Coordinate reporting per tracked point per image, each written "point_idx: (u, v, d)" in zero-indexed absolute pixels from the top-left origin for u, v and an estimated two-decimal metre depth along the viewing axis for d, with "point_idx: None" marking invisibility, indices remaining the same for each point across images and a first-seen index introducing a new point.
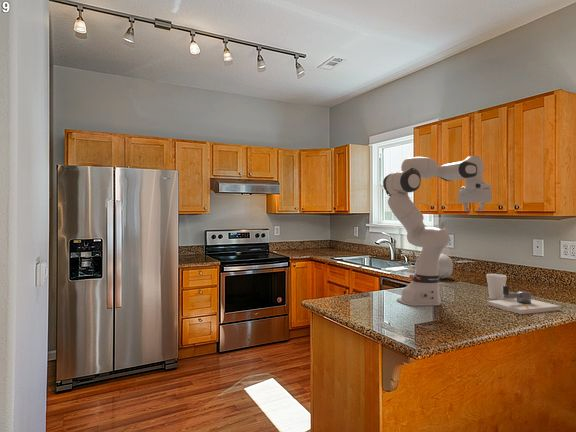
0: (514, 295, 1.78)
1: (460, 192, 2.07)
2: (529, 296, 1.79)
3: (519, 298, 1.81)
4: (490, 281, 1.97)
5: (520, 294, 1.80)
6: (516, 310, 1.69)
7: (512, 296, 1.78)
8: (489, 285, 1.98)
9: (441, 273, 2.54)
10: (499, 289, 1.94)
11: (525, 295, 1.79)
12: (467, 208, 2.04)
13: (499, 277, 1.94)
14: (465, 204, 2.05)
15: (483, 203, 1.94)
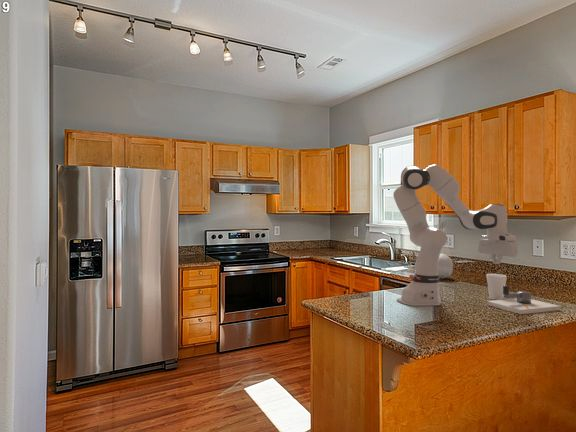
0: (514, 295, 1.78)
1: (481, 241, 1.90)
2: (529, 296, 1.79)
3: (519, 298, 1.81)
4: (490, 281, 1.97)
5: (520, 294, 1.80)
6: (516, 310, 1.69)
7: (512, 296, 1.78)
8: (489, 285, 1.98)
9: (441, 273, 2.54)
10: (499, 289, 1.94)
11: (525, 295, 1.79)
12: None
13: (499, 277, 1.94)
14: (493, 256, 1.84)
15: (500, 256, 1.81)
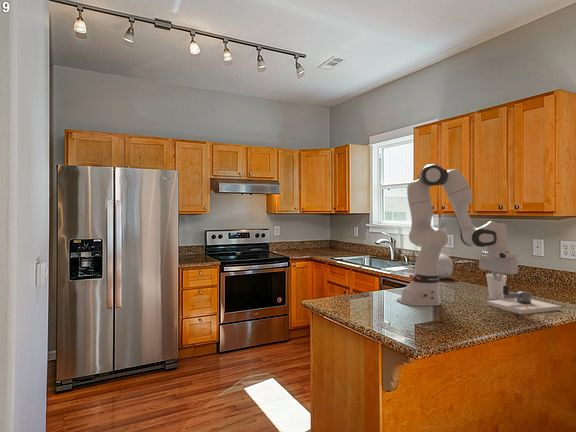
0: (514, 295, 1.78)
1: (481, 258, 1.90)
2: (529, 296, 1.79)
3: (519, 298, 1.81)
4: (490, 281, 1.97)
5: (520, 294, 1.80)
6: (516, 310, 1.69)
7: (512, 296, 1.78)
8: (489, 285, 1.98)
9: (441, 273, 2.54)
10: (499, 289, 1.94)
11: (525, 295, 1.79)
12: None
13: None
14: (494, 273, 1.84)
15: (501, 273, 1.81)
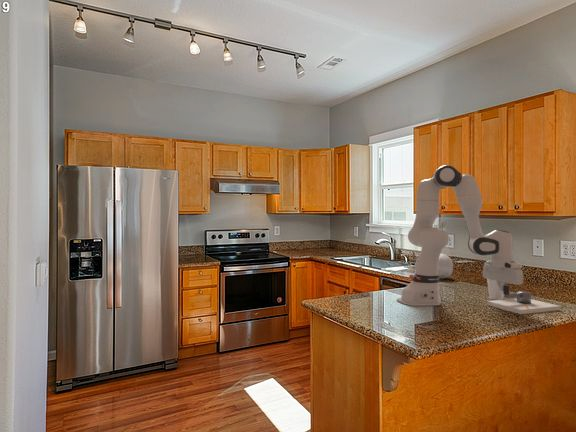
0: (514, 295, 1.78)
1: (485, 267, 1.87)
2: (529, 296, 1.79)
3: (519, 298, 1.81)
4: (490, 281, 1.97)
5: (520, 294, 1.80)
6: (516, 310, 1.69)
7: (512, 296, 1.78)
8: (489, 285, 1.98)
9: (441, 273, 2.54)
10: None
11: (525, 295, 1.79)
12: None
13: None
14: (499, 282, 1.81)
15: (505, 283, 1.78)
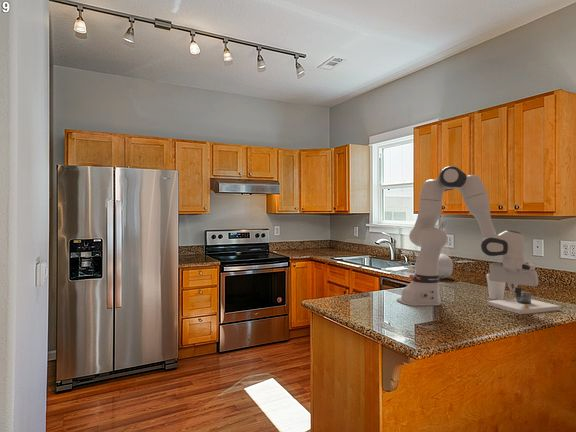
0: (522, 296, 1.76)
1: (493, 269, 1.79)
2: (530, 296, 1.80)
3: (522, 299, 1.80)
4: (490, 281, 1.97)
5: (524, 295, 1.79)
6: (516, 310, 1.69)
7: (522, 298, 1.75)
8: (489, 285, 1.98)
9: (441, 273, 2.54)
10: (499, 289, 1.94)
11: (528, 295, 1.79)
12: (513, 290, 1.74)
13: None
14: (510, 285, 1.75)
15: (517, 285, 1.73)
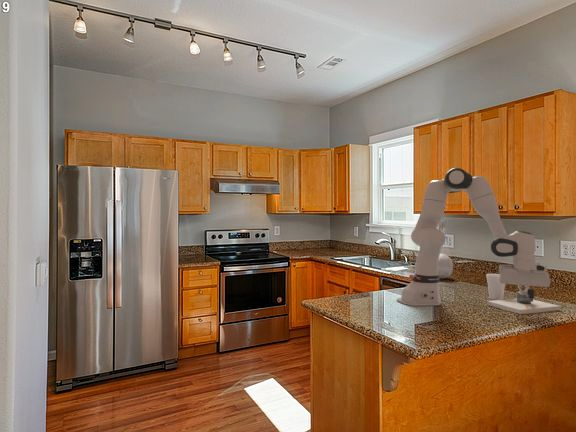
0: None
1: (505, 271, 1.73)
2: None
3: (525, 299, 1.79)
4: (490, 281, 1.97)
5: None
6: (516, 310, 1.69)
7: None
8: (489, 285, 1.98)
9: (441, 273, 2.54)
10: (499, 289, 1.94)
11: None
12: None
13: None
14: (521, 286, 1.71)
15: None
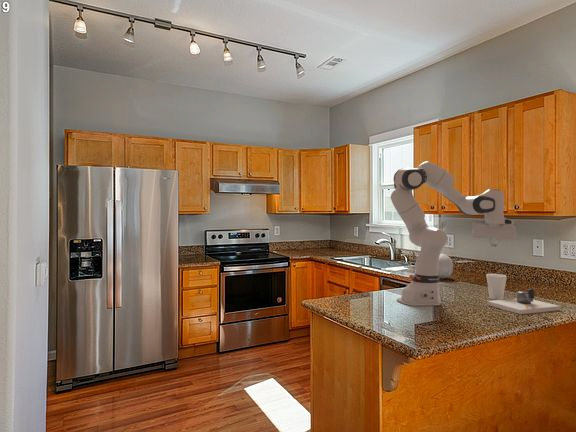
0: None
1: (477, 226, 1.91)
2: None
3: (525, 299, 1.79)
4: (490, 281, 1.97)
5: None
6: (516, 310, 1.69)
7: None
8: (489, 285, 1.98)
9: (441, 273, 2.54)
10: (499, 289, 1.94)
11: None
12: (493, 244, 1.89)
13: (499, 277, 1.94)
14: None
15: None
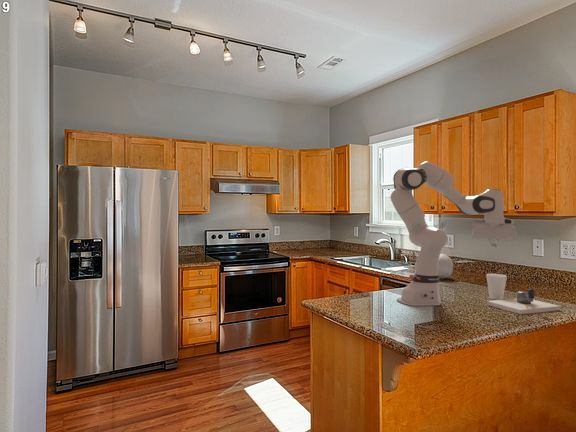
0: None
1: (477, 226, 1.91)
2: None
3: (525, 299, 1.79)
4: (490, 281, 1.97)
5: None
6: (516, 310, 1.69)
7: None
8: (489, 285, 1.98)
9: (441, 273, 2.54)
10: (499, 289, 1.94)
11: None
12: (493, 244, 1.89)
13: (499, 277, 1.94)
14: None
15: None
